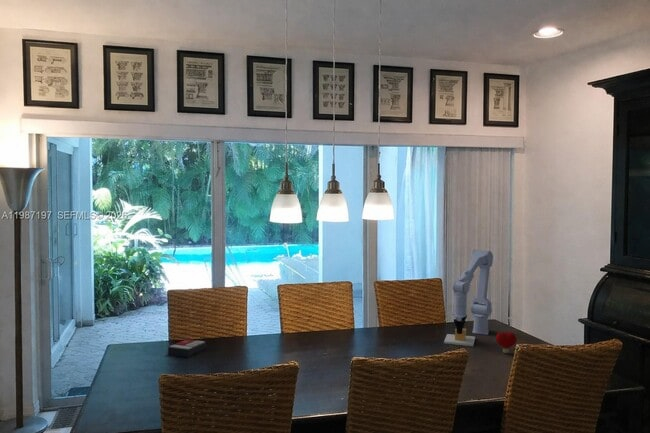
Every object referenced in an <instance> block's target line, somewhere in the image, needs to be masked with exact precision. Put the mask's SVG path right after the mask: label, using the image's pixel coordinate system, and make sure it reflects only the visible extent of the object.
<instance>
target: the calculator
mask: <svg viewBox="0 0 650 433" xmlns="http://www.w3.org/2000/svg"><path fill="white" fill-rule="evenodd" d="M205 349H207V342H206V341H204V340H194V339H184V340H182V341H179V342H177V343H175V344H172V345H169V346H168V348H167V350H168V351H167V354H168V356H169V355H170V356H174V357H175V356H176V357H184V358H189V357H192V356H193V355H195V354H197V353H200V352H202V351H203V350H205Z"/></svg>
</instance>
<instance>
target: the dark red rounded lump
mask: <svg viewBox="0 0 650 433" xmlns="http://www.w3.org/2000/svg"><path fill="white" fill-rule="evenodd" d="M517 340H518V339H517V336H516V334H515V333H514V332H511V331H509V332H504V331H499V332H497V334H496V335H495V341H496V343H497V344H498V345H500V346H501V347H502V352H503V353H504V354H506V355H507V354H508V353H509V352H510V348H511V347H513V346H515V345H516V343H517Z"/></svg>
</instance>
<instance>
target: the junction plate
mask: <svg viewBox="0 0 650 433" xmlns="http://www.w3.org/2000/svg"><path fill="white" fill-rule="evenodd" d="M475 340H476V336H471V335H466V340H465V341H461V340H455V334H454V333H452V334H450V333H447V334H446V336H445V338H444V341H443V344H445V345H446V344H447V345H456V346H467V347H474V346H475Z"/></svg>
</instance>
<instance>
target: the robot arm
mask: <svg viewBox="0 0 650 433" xmlns="http://www.w3.org/2000/svg"><path fill="white" fill-rule="evenodd" d="M493 262H494V254H493V253H492V251H491V250H479V249H473V250H472V251H471V253H470V262H469V264H468V267H467V269H465V270H463V272H462V273H461V275H460V277H459V278H458V280H456V281H454V283H453V285H452V291H453V295H454V312H452V313H451V315H453V316H455V318H454V319H453V323H454V326H455V329H456V330H457V334H462V330H463V328H465V323H466V319H467V318H468V314H467V304H468V303H467V301H468V300H467V299H468V293H469V291H470V287H471V283H472V281H473V279H474V277H475V275H474V274H475V271H476V270H477V269H478V267H479V274H478V282H477V291H476V292H477V293H476V294H477V295H476V297H475V298H473V299H472V300H471V301H472V302H471V303H470V304H471V305H470V308H469V309H470V312H471V314H472V316H473V328H472V333H471V334H476V335H477V334H478V335H485V336H487V335H489V331H490V329H488V328H489V327H488V326H489V317H490V316H491V315H492V311H493V310H492V309H493V308H492V302H491V300H490V299H488V289H489V282H490V281H489V280H490V269H491V268H492V267H493V264H494V263H493Z"/></svg>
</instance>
